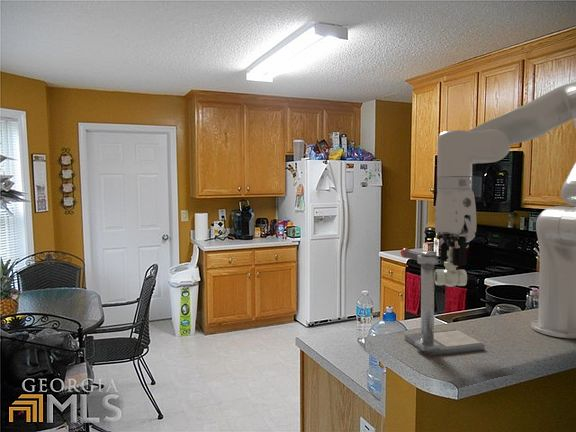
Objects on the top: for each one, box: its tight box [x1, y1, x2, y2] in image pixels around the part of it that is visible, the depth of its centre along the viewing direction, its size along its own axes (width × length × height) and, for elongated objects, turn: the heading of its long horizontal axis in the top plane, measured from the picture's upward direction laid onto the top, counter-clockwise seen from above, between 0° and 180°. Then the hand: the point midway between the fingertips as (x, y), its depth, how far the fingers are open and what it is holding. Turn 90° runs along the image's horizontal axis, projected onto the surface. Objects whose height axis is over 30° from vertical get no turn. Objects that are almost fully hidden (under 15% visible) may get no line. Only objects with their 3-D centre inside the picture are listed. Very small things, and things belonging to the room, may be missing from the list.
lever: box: [400, 248, 439, 266], centre depth 103 cm, size 13×4×2 cm, turn 14°
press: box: [404, 250, 485, 357], centre depth 104 cm, size 15×11×23 cm
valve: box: [434, 234, 468, 288], centre depth 103 cm, size 7×7×12 cm
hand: (453, 262), depth 104 cm, fingers closed on valve, 4 cm apart
